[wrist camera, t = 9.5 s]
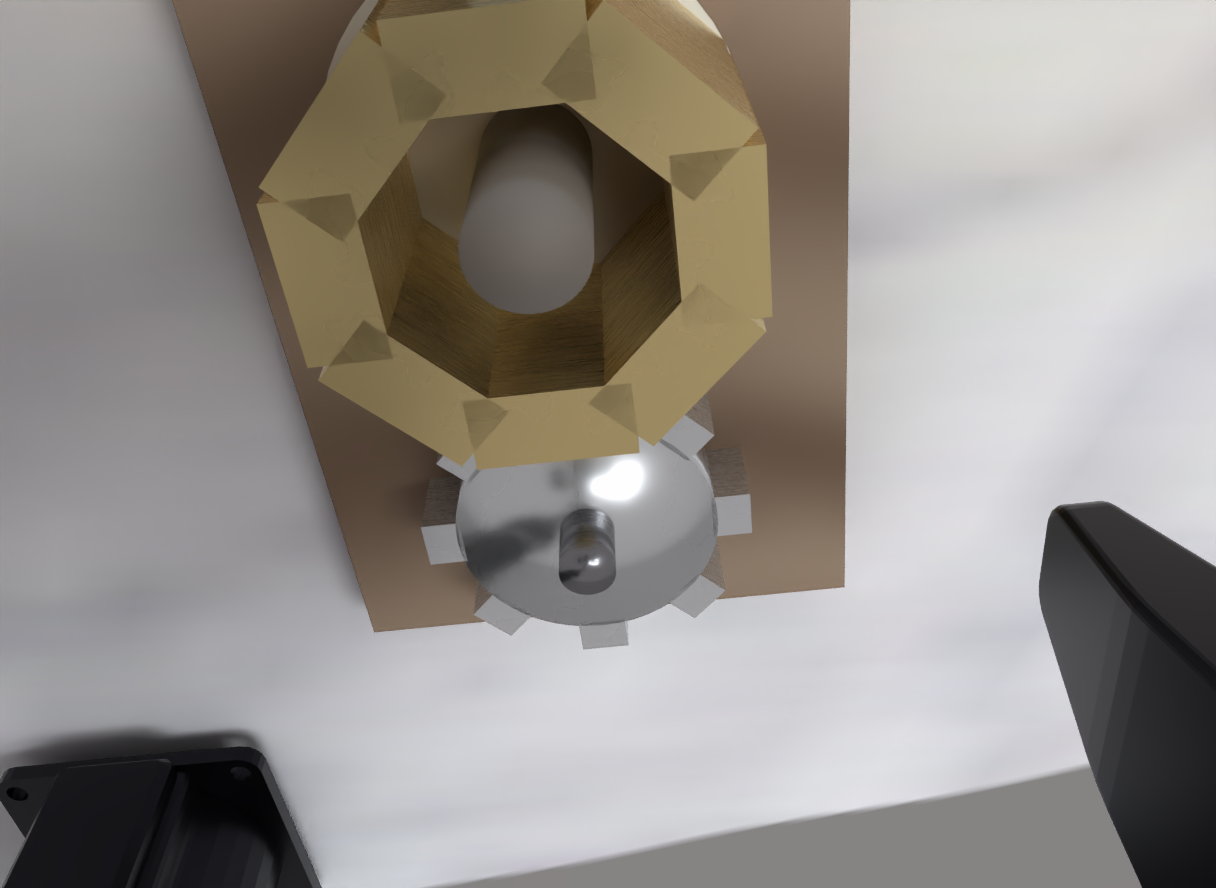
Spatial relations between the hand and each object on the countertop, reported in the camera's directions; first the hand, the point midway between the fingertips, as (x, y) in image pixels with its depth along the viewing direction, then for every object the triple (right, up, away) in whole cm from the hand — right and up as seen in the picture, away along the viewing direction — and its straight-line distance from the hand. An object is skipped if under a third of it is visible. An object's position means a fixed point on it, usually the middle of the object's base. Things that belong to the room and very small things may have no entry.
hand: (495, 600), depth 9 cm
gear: (+1, +1, +12) cm, 12 cm away
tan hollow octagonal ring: (0, +6, +9) cm, 11 cm away
